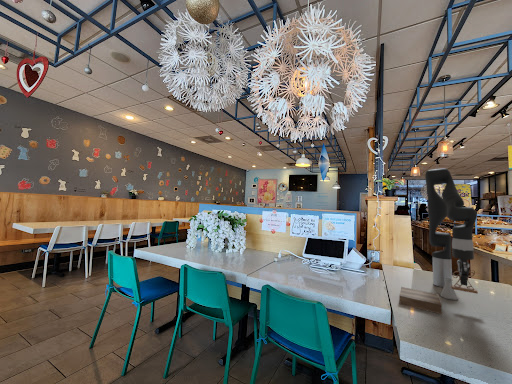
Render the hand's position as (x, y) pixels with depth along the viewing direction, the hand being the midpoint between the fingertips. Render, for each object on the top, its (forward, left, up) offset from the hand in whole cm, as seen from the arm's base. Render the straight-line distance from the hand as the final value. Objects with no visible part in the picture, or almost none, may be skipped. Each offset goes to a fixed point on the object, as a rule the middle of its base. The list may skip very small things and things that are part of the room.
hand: (463, 284), depth 105 cm
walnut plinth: (+5, -17, -12) cm, 22 cm away
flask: (-15, -4, -12) cm, 19 cm away
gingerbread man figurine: (0, 0, -3) cm, 3 cm away
